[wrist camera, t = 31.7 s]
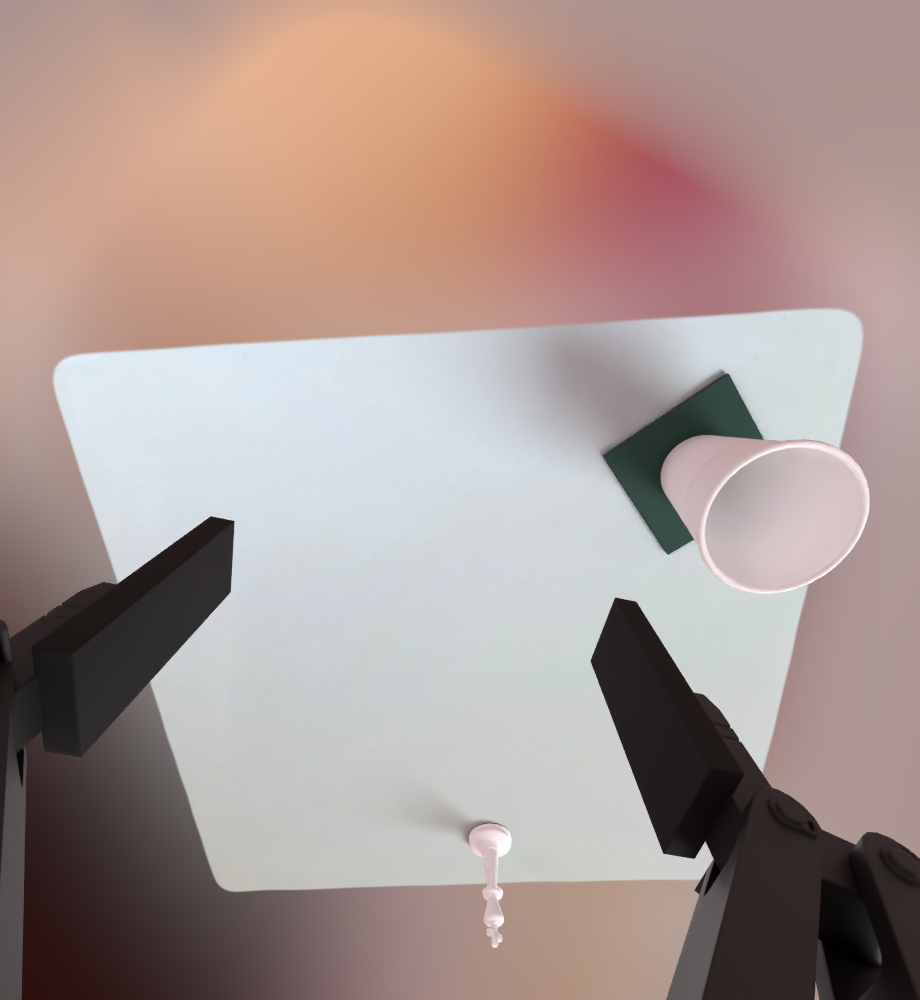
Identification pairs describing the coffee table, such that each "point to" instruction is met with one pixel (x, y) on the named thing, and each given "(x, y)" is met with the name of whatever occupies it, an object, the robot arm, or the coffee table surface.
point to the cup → (767, 507)
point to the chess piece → (491, 871)
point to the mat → (649, 447)
